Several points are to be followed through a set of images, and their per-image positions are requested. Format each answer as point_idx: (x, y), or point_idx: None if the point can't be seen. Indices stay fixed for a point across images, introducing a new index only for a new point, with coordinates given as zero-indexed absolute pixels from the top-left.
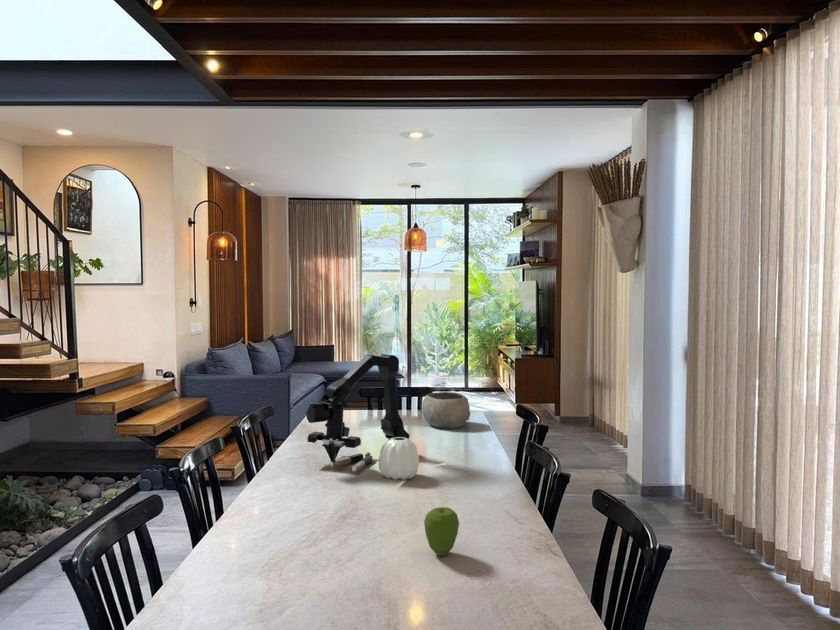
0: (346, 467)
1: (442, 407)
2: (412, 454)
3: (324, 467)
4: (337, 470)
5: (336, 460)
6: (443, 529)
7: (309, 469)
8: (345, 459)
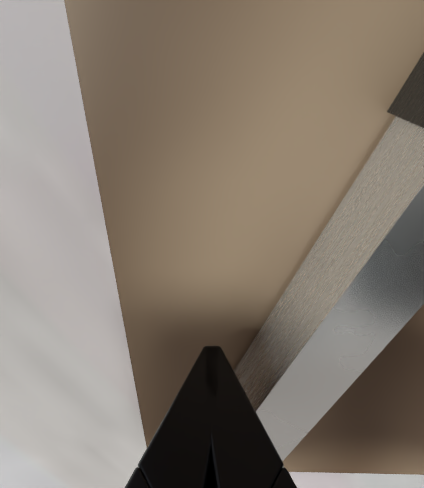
0: (415, 335)
1: None
2: None
3: (150, 399)
4: (335, 434)
5: (274, 403)
6: None
7: (14, 403)
8: (414, 310)
